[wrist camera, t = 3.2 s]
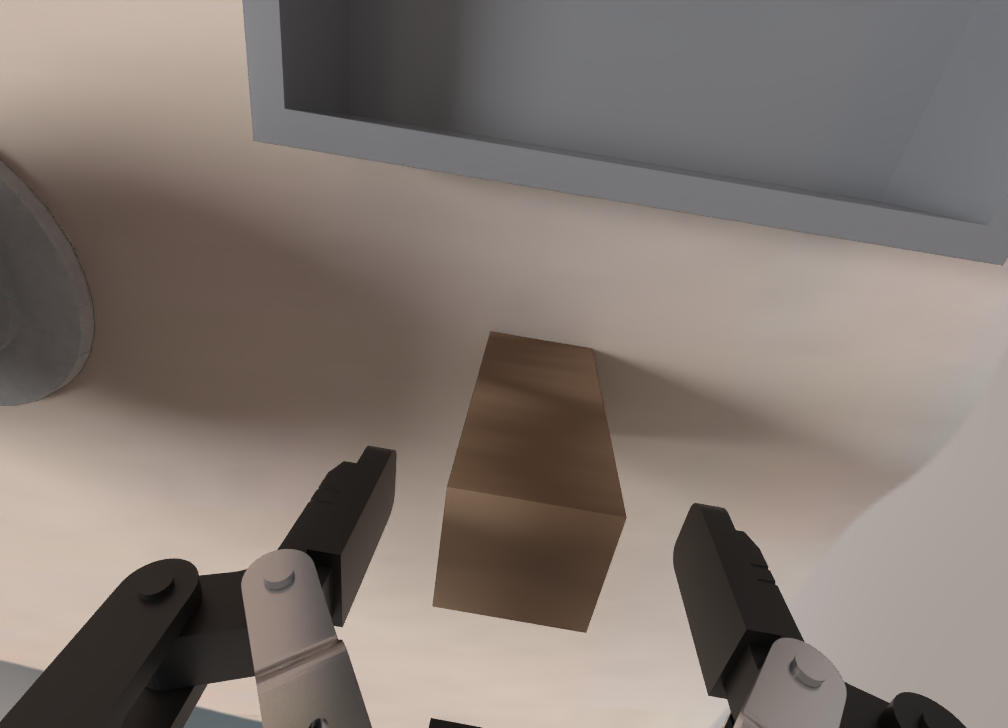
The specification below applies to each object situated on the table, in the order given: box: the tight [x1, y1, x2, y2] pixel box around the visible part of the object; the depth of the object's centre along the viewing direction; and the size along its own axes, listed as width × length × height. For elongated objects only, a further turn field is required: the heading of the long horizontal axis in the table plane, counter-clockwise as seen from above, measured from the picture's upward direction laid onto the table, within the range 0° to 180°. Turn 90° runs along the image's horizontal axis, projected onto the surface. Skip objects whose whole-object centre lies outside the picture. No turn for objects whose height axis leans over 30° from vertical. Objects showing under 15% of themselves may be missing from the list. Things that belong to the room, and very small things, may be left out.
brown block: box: [433, 332, 626, 633], centre depth 15 cm, size 4×4×9 cm
